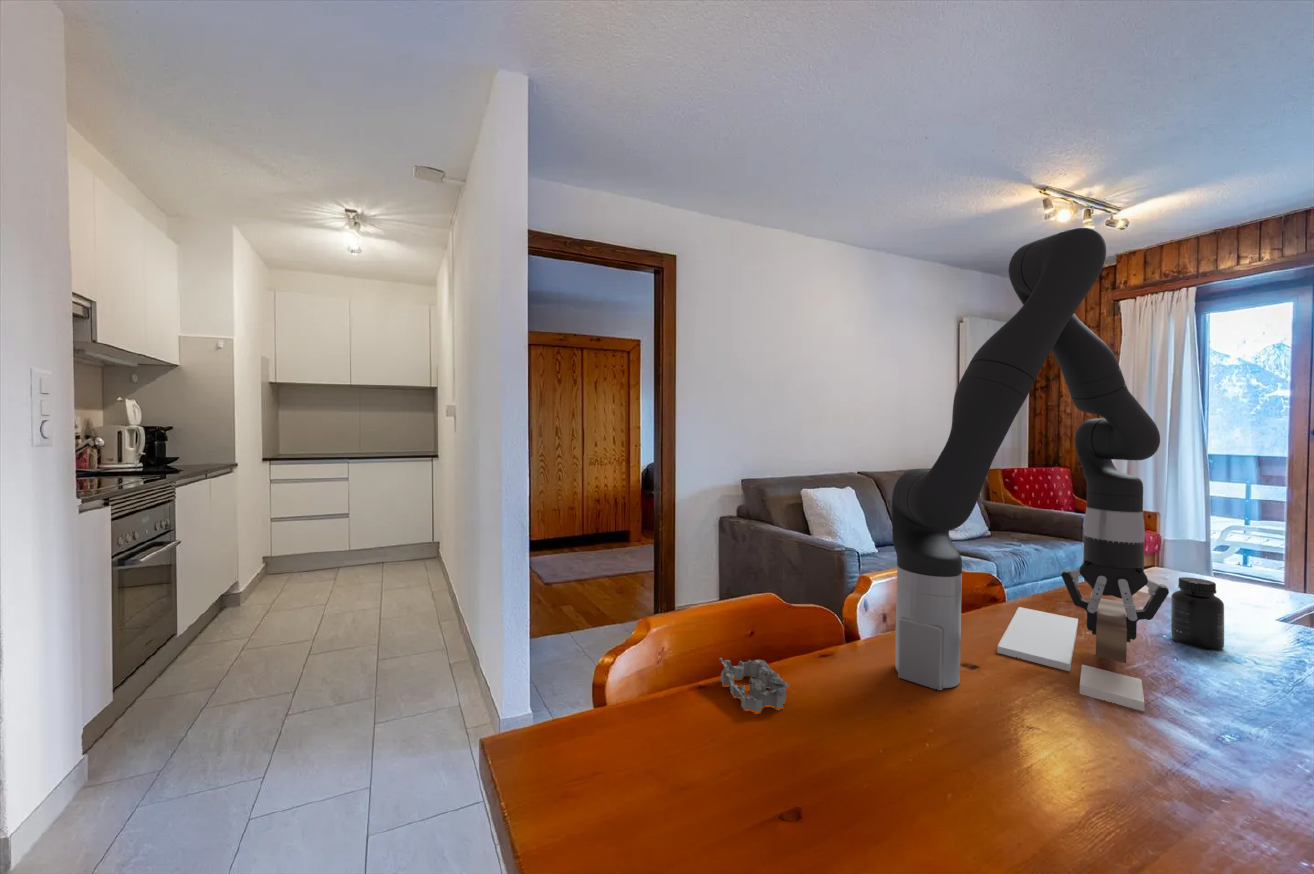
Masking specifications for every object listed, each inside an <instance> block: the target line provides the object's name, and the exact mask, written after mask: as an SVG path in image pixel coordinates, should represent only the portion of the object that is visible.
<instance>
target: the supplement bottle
mask: <svg viewBox="0 0 1314 874" xmlns="http://www.w3.org/2000/svg"><path fill="white" fill-rule="evenodd" d="M1216 585H1217V583H1216V582H1214V581H1212V580H1207V579H1204V578H1203V579H1202V578H1197V577H1196V578H1195V577H1182V576H1181V577H1179V578H1178V585H1177V587H1178V589H1179V590H1177V591H1174V592H1172V594H1171V596H1170V607H1171V608H1170V612H1171V613H1170V614H1171V617H1170V619H1171V620H1170V621H1171V622H1170V624H1171V625H1170V631H1171V632H1170V634H1171V638H1172V639H1173V640H1175V641H1176V642H1177V643H1180V644H1181V645H1184V646H1189V647H1191V648H1196V649H1201V650H1209V651H1220V650H1222V649H1224V647H1225V604H1224V602H1223V600H1222V599H1220V598H1219V597H1218V596H1216V595H1215V594H1217V588H1216V587H1217V586H1216Z"/></svg>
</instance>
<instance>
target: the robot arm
mask: <svg viewBox="0 0 1314 874" xmlns="http://www.w3.org/2000/svg"><path fill="white" fill-rule="evenodd" d="M1106 257H1107V246H1106V241H1105V239H1104V236H1103V235H1102V234H1101V233H1100V232H1099V231H1098V230H1095V229H1094V228H1090V227H1075V228H1071V229H1066V230H1063V231H1059V232H1057V233H1053V234H1052V235H1049V236H1046V237H1043V238H1040V239H1036V240H1034V241H1032V242H1030V243H1027V244H1024V245H1023V246H1021V247H1019V248H1018V249H1017V250H1016V251H1015V252H1014V254H1013V255H1012V257H1011V259H1010V261H1009V264H1008V277H1009V281H1010V283H1011V286H1012V288H1013V290H1014V292H1015V294H1016V295H1017V297H1018V300H1020V302H1021V304H1022V307H1020V308H1019V309H1018V311H1017V312H1016V313H1015V314H1014V315H1013V316H1012V317H1011V318H1010V319H1009V320H1008V321H1007V322H1006V323H1004V325H1002V326H1001V327H1000V328H999V329H997V331H996V332H994V334H992V335H991V336H990V337H989V338H988V340H986V341H985V342H984V343H983V344H982V345H981V346H980V348H979V349H978V350H977V351H976V352H975V353H974V355H973V357H972V358H971V360H970V362H969V363H968V365H967V368H966V370H965V371H964V373H963V375H962V376H961V379H960V381H959V383H958V385H957V387H956V390H955V394H954V397H953V404H952V417H951V428H950V433H949V436H948V438H947V440H946V443H945V445H944V446H943V448H942V451H941V453H940V454H939V456H938V458H937V459H936V461H935V462H934V464H933V465H932V467H931V468H930V469H927V468H923V469H922V468H916V469H911V470H908V471H905V473H903V474H902V475H900V477H899V478H898V479H897V481H896V482H895V484H894V487H893V490H892V497H891V530H892V531H891V532H892V533H891V534H892V544H893V548H894V551H895V554H896V601H895V602H896V604H895V607H896V608H895V609H896V610H895V661H894V662H895V665H894V666H895V671H896V672H897V677H898V678H899V679H903V680H905V681H909V682H911V683H914V684H918V685H921V686H924V687H928V688H930V689H933V690H936V689H937V691H939V690H941V691H943V690H944V689H951V688H955V687H957V686H958V685H959V684H961V683H960V681H961V641H962V640H961V636H962V635H961V634H962V633H961V630H962V593H963V591H962V588H963V587H962V582H963V574H962V573H963V559H962V556H961V554H960V553H959V552H958V550H957V549H956V547H955V546H954V544H953V542H952V540H951V536H950V531H954V530H956V529H958V528H960V527H961V526H963V524H964V523H966V522H967V520H968V519H969V518H970V516H971V515H972V514H973V511H974V509H975V507H976V504H977V503H978V500H979V497H980V494H981V493H982V492H981V491H982V489H983V487H984V484H985V481H986V479H987V476H988V474H989V471H990V468H991V466H992V464H993V461H994V459H995V457H996V455H997V453H998V451H999V449H1000V447H1001V445H1002V444H1003V442H1004V440H1005V438H1006V436H1007V433H1008V432H1009V430H1010V428H1011V426H1012V425H1013V424H1012V423H1013V422H1014V421H1015V418H1016V416H1017V415H1018V413H1019V411H1020V410H1021V408H1022V406H1023V405H1024V403H1025V401H1026V400H1027V398H1028V395H1029V394H1030V392H1031V390H1032V388H1033V386H1034V384H1035V382H1036V380H1037V378H1038V376H1039V374H1040V371H1041V369H1042V368H1043V366H1044V364H1045V362H1046V360H1047V358H1048V357H1049V355H1050V354H1051V352H1052V354H1053V356H1054V357H1055V359H1056V360H1055V361H1056V362H1057V364H1058V366H1059V368H1060V371H1061V373H1062V376H1063V379H1064V381H1065V385H1066V387H1067V389H1068V392H1069V395H1070V397H1071V400H1072V402H1073V405H1074V406H1075V408H1076V409H1077V410H1079V411H1080V412H1082V413H1083V412H1084V413H1088V414H1093V415H1097V416H1100V418H1099V417H1098V418H1091V419H1087V420H1084V421H1083V422H1082V423H1080V425H1079V426H1078V428H1077V430H1076V432H1075V435H1074V448H1075V450H1076V454H1077V456H1078V459H1079V463H1080V466H1081V468H1082V473H1083V476H1084V480H1085V483H1086V510H1085V514H1084V520H1083V521H1084V522H1083V557H1082V558H1083V561H1082V564H1081V565H1080V566H1079V569H1071V570H1070V569H1063V570H1062V572H1061V574H1060V576H1061V578H1062V580H1063V583H1064V585H1065V587H1066V589H1067V593H1068V594H1069V596H1070V598H1071V600H1072V602H1073V603H1072V604H1073V605H1075V606H1076V607H1078V608H1081V609H1083V610H1085V611H1086V629H1087V630H1088V631H1090V632H1091V635H1094V636H1096V623H1097V610H1098V605H1099V602H1100V599H1101V598H1102V596H1106V597H1107V596H1108V597H1109V596H1112V597H1115V598H1118V599H1122V602H1123V603H1124V606H1125V614H1126V626H1127V643H1131V640H1133V641H1135V640H1136V639H1137V629H1138V627H1137V624H1138V622H1139V621H1140V620H1147V621H1151V620H1153V618H1154V617H1155V615H1156V614H1157V613H1158V610H1159V609H1161V606H1162V605H1163V603H1164V602H1165V600H1166V599H1167V597H1168V595H1169V593H1170V590H1169V588H1168V586H1167V585H1165V584H1163V583H1162V584H1159V583H1157V582H1155V581H1152V580H1150V579H1148V576H1147V575H1146V573H1145V570H1144V569H1145V560H1144V559H1145V537H1146V533H1145V530H1146V529H1145V520H1144V512H1143V511H1144V483H1143V481H1142V480H1141V478H1140V477H1137V476H1135V475H1131V474H1127V473H1124V472H1121V471H1119V470H1117V469H1116V466H1115V464H1114V463H1113V460H1117V461H1118V460H1119V461H1120V460H1121V461H1143V460H1147V459H1149V458H1151V457H1153V456H1154V455H1155V453H1157V452H1158V450H1159V447H1160V445H1161V434H1160V430H1159V428H1158V427H1157V425H1156V422H1155V421H1154V420H1153V419H1152V417H1151V416H1150V415H1149V414H1148V413H1147V411H1146V410H1145V408H1144V407H1142V405H1141V404H1140V403H1139V401H1138V400H1137V399H1136V398H1135V396H1133V394H1132V392H1130V391H1129V389H1128V386H1127V384H1126V381H1125V378H1124V375H1123V373H1122V369H1121V367H1120V364H1119V361H1118V359H1117V357H1116V356H1115V354H1114V351H1113V350H1112V349H1111V348H1110V347H1109V346H1108V345H1107V344H1106V343H1105V342H1104V341H1103V340H1102V339H1101V337H1099V336H1098V335H1097V334H1096V333H1095V332H1093V331H1092V330H1091V329H1090V328H1089V327H1088V326H1087V325H1085V323H1083V321H1081V320H1080V319H1079V317H1078V316H1077V315H1076V313H1075V312H1076V311H1077V309H1078V307H1079V306H1080V305H1081V304H1082V302H1083V301H1084V300H1085V297H1086V296H1087V295H1088V293H1089V292H1090V290H1091V289H1092V288H1093V286H1094V284H1095V283H1096V281H1097V280H1098V278H1099V276H1100V275H1101V273H1102V271H1103V268H1104V265H1105V261H1106ZM1101 417H1102V418H1101ZM1080 577H1082V578H1083V579H1084V581H1085V582H1086V583H1087V584H1088V585H1089V587H1090V588H1091V589H1092V590H1091V594H1090V596H1089V599H1088V600H1086V599H1084V598H1083V597H1082V594H1081V592H1080V590H1079V587H1078V585H1077V583H1078V582H1079V581H1080ZM1145 586H1146V587H1147V588H1148V589H1147V592H1148V595H1150V597H1149V598H1148V600H1147V602H1146V603H1145V605H1144V607H1143V608H1142V609H1136V606H1135V602H1134V599H1133V596H1134V595H1135V594H1137V593H1138V592H1139V591H1140V590H1141V589H1143V588H1144V587H1145Z"/></svg>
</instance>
